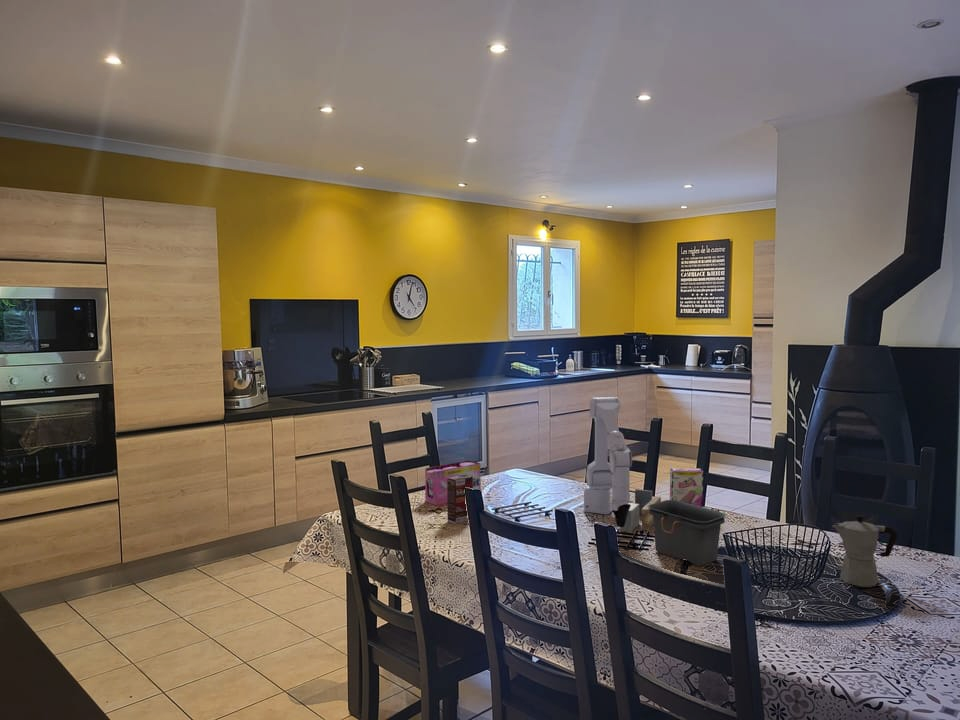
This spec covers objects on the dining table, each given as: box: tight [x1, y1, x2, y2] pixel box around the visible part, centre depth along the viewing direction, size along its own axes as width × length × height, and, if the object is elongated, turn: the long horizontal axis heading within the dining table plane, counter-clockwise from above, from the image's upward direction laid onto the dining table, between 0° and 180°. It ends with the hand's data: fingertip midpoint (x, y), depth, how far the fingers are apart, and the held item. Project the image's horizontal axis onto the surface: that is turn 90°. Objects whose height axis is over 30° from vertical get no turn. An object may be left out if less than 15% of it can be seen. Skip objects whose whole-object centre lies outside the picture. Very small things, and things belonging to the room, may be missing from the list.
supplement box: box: [446, 475, 473, 525], centre depth 246 cm, size 9×5×16 cm, turn 131°
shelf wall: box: [641, 496, 662, 531], centre depth 241 cm, size 2×18×7 cm, turn 152°
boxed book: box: [619, 502, 640, 532], centre depth 236 cm, size 4×10×7 cm, turn 152°
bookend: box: [634, 488, 653, 514], centre depth 251 cm, size 6×3×9 cm, turn 62°
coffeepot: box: [832, 514, 899, 588], centre depth 185 cm, size 15×9×18 cm, turn 68°
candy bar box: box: [669, 467, 704, 508], centre depth 250 cm, size 11×5×16 cm, turn 84°
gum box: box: [424, 460, 482, 506], centre depth 276 cm, size 24×8×14 cm, turn 129°
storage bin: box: [648, 499, 727, 567], centre depth 206 cm, size 21×16×14 cm
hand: (620, 526), depth 229 cm, fingers closed
